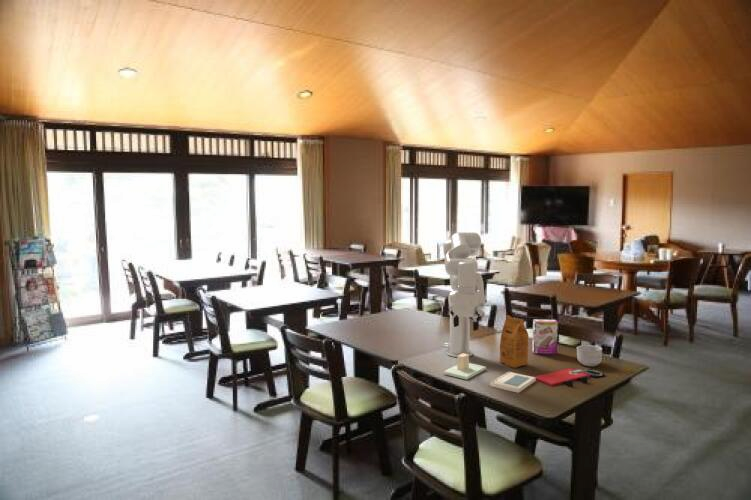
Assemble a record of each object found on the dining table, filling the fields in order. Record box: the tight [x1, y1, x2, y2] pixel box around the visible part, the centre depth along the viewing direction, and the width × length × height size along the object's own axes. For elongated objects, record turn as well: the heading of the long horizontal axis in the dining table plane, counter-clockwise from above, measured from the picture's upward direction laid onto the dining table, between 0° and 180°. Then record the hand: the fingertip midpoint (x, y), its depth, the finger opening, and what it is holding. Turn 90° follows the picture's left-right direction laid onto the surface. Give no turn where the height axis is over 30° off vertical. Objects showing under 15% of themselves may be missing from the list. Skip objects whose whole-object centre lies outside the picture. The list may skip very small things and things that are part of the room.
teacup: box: [576, 344, 603, 367], centre depth 238 cm, size 14×11×8 cm
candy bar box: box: [531, 318, 559, 356], centre depth 255 cm, size 11×5×16 cm, turn 84°
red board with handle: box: [531, 367, 606, 388], centre depth 220 cm, size 30×3×15 cm
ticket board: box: [490, 371, 537, 394], centre depth 214 cm, size 12×17×2 cm
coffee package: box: [499, 314, 529, 369], centre depth 238 cm, size 10×12×22 cm
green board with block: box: [443, 353, 487, 380], centre depth 228 cm, size 11×17×7 cm
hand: (465, 328), depth 228 cm, fingers open, 9 cm apart
